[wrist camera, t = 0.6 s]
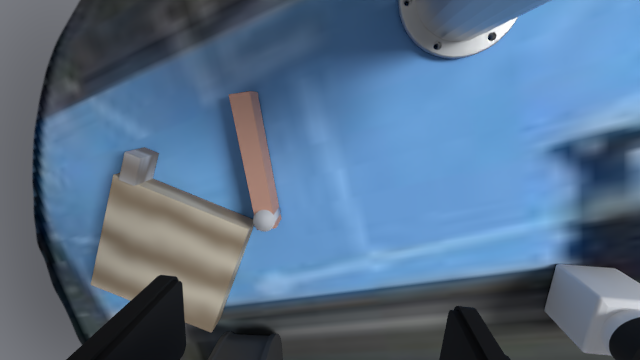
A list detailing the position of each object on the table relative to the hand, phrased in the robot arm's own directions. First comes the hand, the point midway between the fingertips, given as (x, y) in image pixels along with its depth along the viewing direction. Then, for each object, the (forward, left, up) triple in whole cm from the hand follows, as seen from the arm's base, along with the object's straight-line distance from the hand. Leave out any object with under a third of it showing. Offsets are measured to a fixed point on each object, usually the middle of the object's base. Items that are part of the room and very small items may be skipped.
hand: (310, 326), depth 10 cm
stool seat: (+18, -16, -28) cm, 37 cm away
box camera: (+3, +35, -28) cm, 45 cm away
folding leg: (+3, -9, -28) cm, 29 cm away
